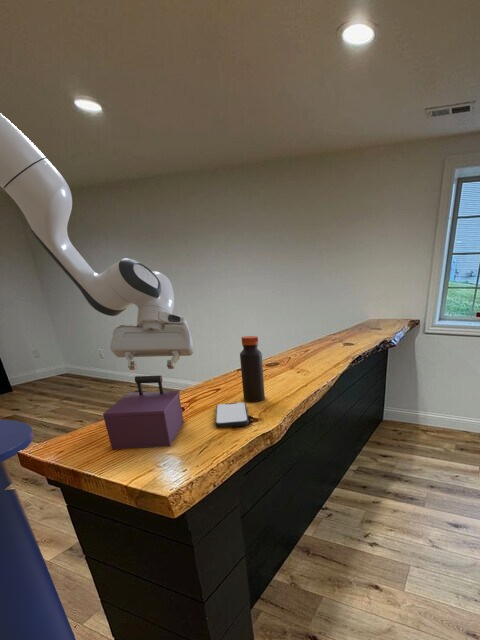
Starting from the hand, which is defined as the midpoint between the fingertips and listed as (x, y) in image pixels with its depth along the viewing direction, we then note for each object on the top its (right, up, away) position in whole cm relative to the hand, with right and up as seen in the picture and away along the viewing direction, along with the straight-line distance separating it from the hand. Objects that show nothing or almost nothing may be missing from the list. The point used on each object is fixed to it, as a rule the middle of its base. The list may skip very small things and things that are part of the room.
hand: (151, 368), depth 90 cm
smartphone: (+19, -12, +9) cm, 24 cm away
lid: (+2, -10, -6) cm, 12 cm away
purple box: (+2, -17, -3) cm, 18 cm away
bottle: (+22, -6, +24) cm, 33 cm away
